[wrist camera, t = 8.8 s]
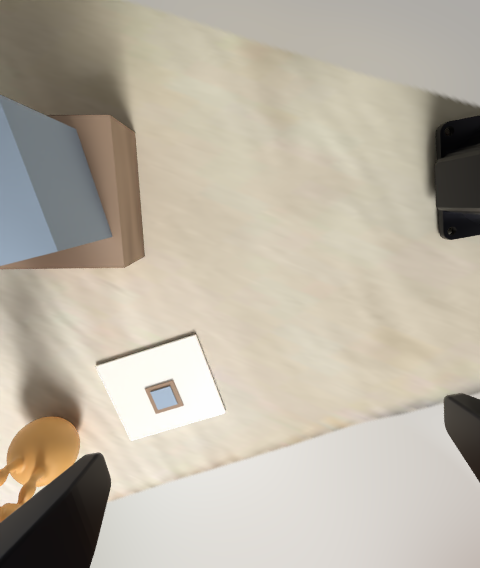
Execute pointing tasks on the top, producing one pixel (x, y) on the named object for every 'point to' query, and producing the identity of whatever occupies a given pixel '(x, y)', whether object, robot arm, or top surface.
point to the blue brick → (44, 187)
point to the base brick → (104, 197)
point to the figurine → (39, 457)
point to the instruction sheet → (162, 387)
